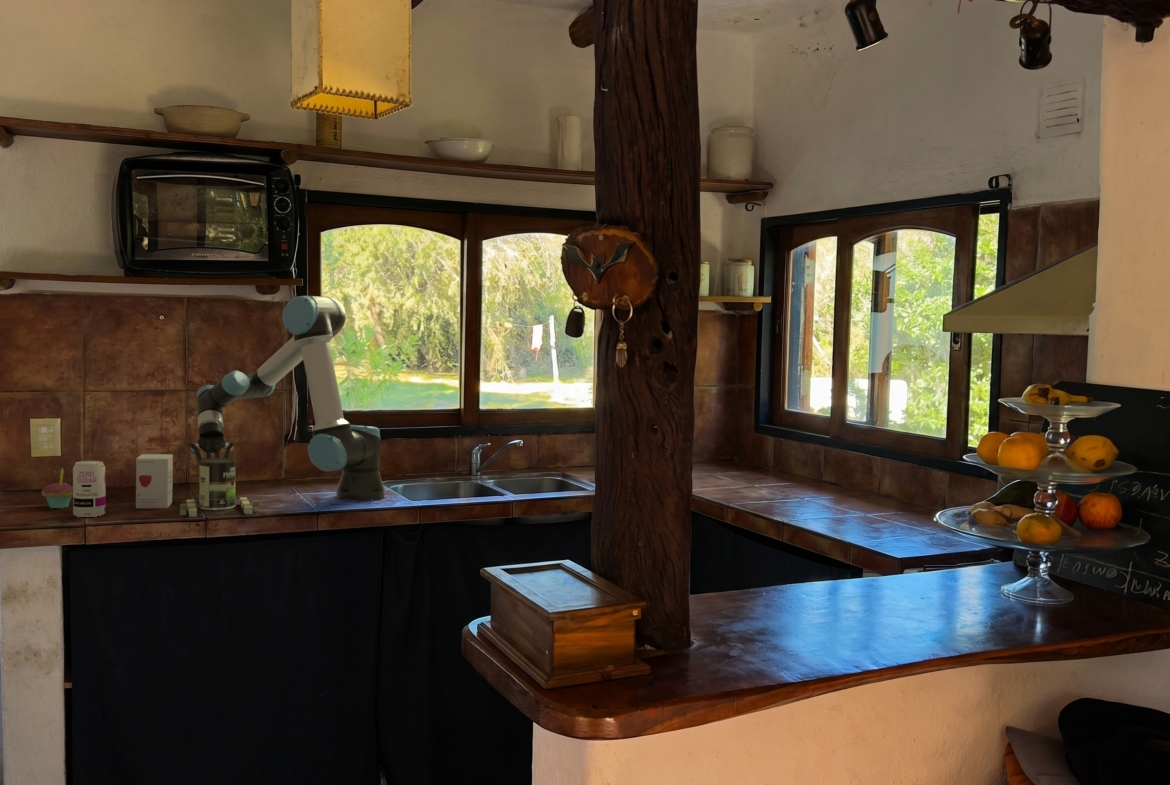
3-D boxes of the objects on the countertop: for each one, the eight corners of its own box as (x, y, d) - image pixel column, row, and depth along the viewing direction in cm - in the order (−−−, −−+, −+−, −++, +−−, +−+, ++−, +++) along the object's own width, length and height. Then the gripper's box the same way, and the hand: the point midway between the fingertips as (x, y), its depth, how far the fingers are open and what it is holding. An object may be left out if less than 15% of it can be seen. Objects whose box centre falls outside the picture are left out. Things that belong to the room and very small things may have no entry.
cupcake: (81, 506, 299) (81, 465, 298) (55, 511, 292) (55, 469, 291) (60, 503, 303) (60, 463, 302) (35, 508, 295) (34, 466, 294)
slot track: (178, 506, 303) (178, 496, 303) (254, 503, 312) (254, 493, 311) (180, 517, 288) (180, 507, 288) (260, 513, 297) (260, 503, 297)
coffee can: (242, 505, 309) (242, 458, 307) (223, 511, 299) (223, 463, 297) (211, 502, 311) (211, 456, 310) (191, 509, 301) (191, 461, 299)
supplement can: (99, 511, 293) (99, 459, 292) (109, 516, 287) (109, 463, 286) (69, 514, 287) (68, 461, 286) (78, 519, 281) (78, 465, 280)
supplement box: (134, 509, 298) (134, 458, 297) (141, 503, 307) (140, 453, 306) (168, 508, 300) (168, 458, 299) (173, 502, 309) (173, 453, 308)
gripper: (231, 435, 331) (236, 495, 317) (188, 435, 325) (191, 497, 312) (233, 420, 326) (238, 481, 312) (189, 421, 320) (192, 482, 306)
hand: (214, 489), depth 312 cm, fingers closed
